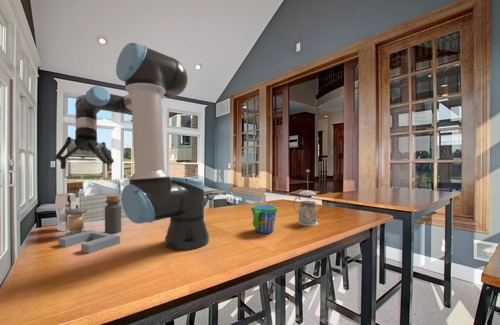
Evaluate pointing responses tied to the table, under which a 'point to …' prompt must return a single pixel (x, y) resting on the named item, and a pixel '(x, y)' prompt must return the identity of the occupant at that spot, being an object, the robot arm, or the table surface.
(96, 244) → the notch board
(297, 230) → the table surface
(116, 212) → the bottle
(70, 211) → the bobbin
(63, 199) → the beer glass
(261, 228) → the snack cup
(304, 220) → the french press
